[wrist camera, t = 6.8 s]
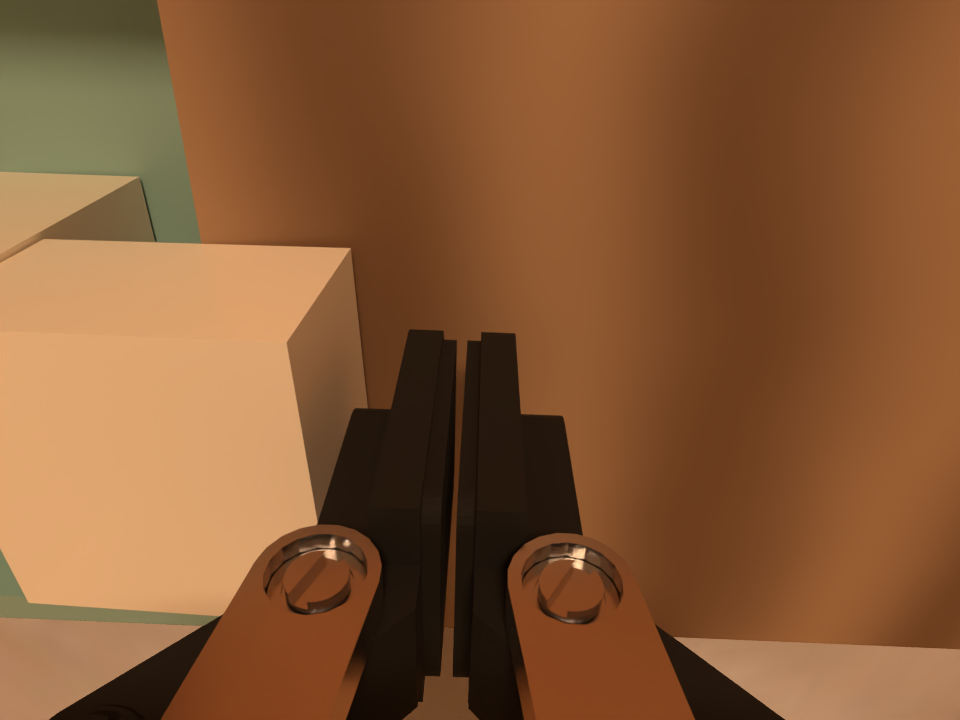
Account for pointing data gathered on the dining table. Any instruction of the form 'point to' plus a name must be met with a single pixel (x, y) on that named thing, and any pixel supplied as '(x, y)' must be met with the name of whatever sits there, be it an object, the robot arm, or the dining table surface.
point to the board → (643, 263)
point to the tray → (93, 150)
